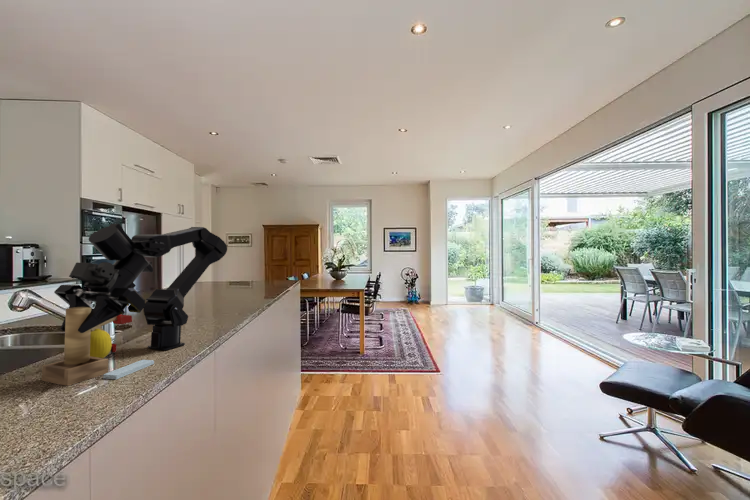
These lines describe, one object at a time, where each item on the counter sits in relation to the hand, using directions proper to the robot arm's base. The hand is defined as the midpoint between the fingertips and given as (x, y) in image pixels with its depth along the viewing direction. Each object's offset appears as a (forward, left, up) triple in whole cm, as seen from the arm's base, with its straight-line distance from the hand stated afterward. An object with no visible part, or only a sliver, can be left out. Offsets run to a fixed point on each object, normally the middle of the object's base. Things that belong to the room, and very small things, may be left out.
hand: (71, 331), depth 69 cm
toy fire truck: (-13, -11, -10) cm, 19 cm away
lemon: (-9, -6, -10) cm, 14 cm away
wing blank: (-8, +6, -10) cm, 14 cm away
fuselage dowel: (-1, 0, -7) cm, 7 cm away
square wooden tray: (-1, 0, -10) cm, 10 cm away
